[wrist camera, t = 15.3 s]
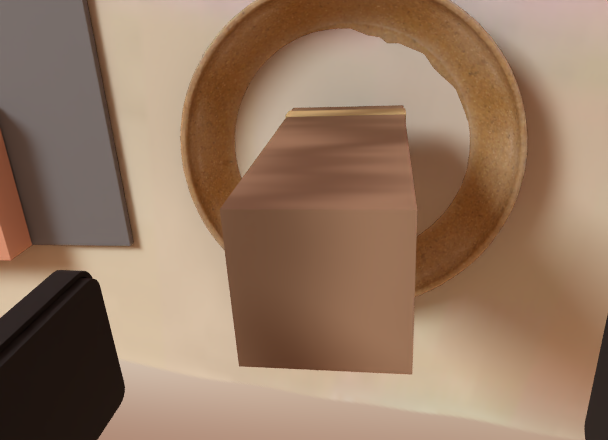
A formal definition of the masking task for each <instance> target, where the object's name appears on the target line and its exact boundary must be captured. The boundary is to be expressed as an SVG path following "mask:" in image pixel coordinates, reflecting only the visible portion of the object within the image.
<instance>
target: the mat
mask: <svg viewBox="0 0 608 440" xmlns="http://www.w3.org/2000/svg"><path fill="white" fill-rule="evenodd" d="M0 129H1V133H2V137H3V140H4V144H5V148H6V151H7V155H8V159H9V162H10V166H11V170H12V173H13V177H14V180H15V184H16V188H17V191H18V195H19V199H20V202H21V206H22V210H23V213H24V217H25V221H26V224H27V228H28V232H29V235H30V239H31V243H32V245H98V246H131V245H132V244H133V237H132V232H131V227H130V222H129V217H128V212H127V206H126V201H125V196H124V191H123V186H122V180H121V175H120V170H119V165H118V160H117V155H116V149H115V144H114V139H113V134H112V129H111V123H110V118H109V113H108V108H107V103H106V98H105V92H104V87H103V82H102V77H101V72H100V66H99V61H98V56H97V51H96V46H95V41H94V35H93V30H92V25H91V20H90V15H89V9H88V4H87V0H0Z"/></svg>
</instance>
